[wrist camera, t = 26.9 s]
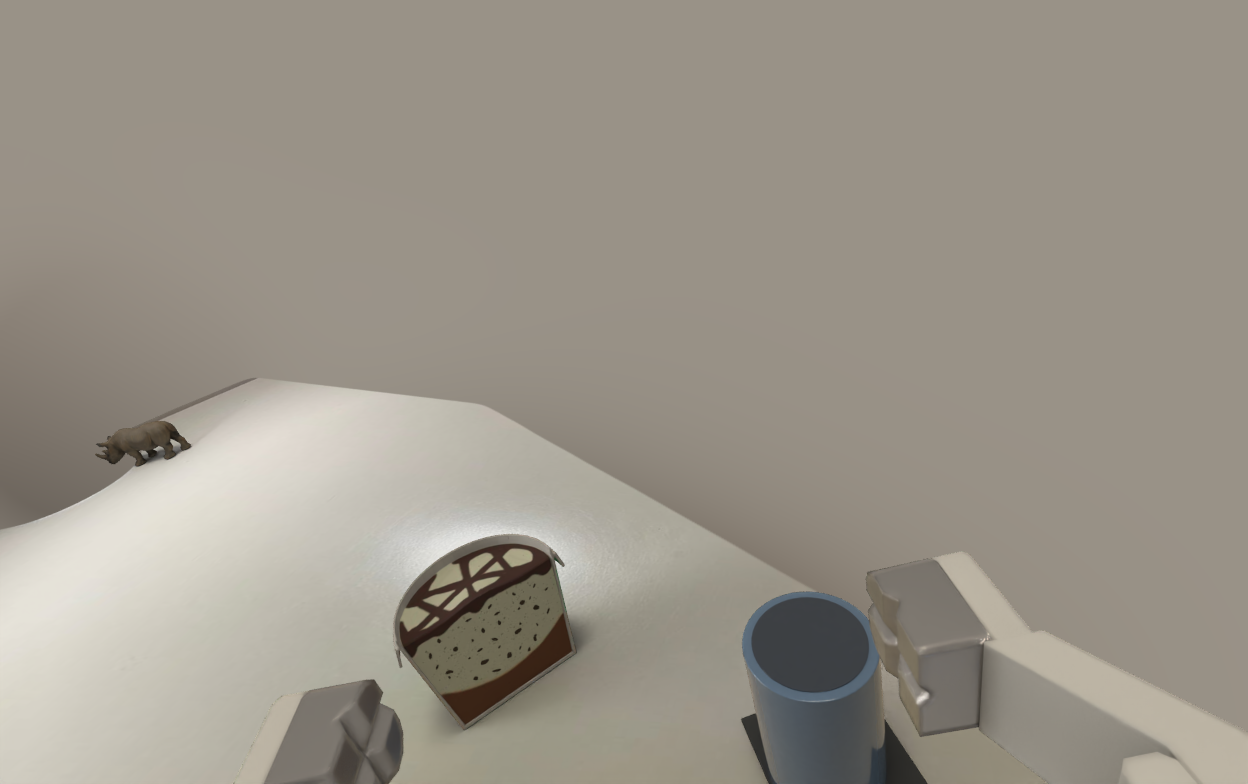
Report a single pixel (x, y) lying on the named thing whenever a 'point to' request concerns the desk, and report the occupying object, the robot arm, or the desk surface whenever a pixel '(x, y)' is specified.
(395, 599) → the desk surface
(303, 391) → the desk surface
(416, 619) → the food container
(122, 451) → the rhino figurine
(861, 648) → the cup
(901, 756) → the mat
